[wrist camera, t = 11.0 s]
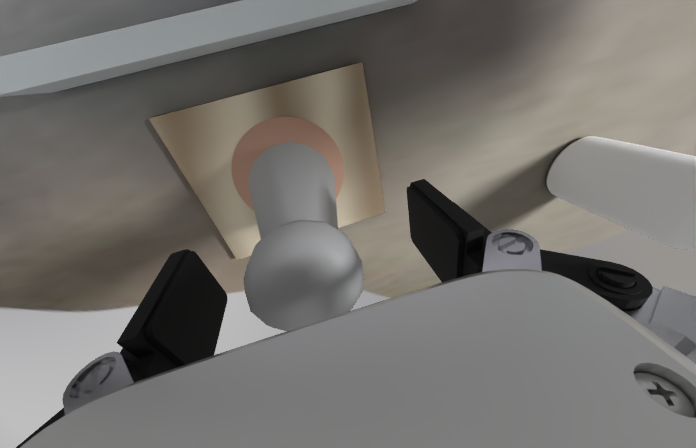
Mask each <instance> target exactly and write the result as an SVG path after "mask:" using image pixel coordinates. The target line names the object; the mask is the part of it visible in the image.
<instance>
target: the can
mask: <svg viewBox="0 0 696 448" xmlns="http://www.w3.org/2000/svg"><path fill="white" fill-rule="evenodd" d="M546 184H547V187H548V190H549V191H550V193H551V194H553V195H555V196H557V197H559V198H561V199H563V200H566V201H568V202H570V203H572V204H574V205H577V206H579V207H581V208H583V209H586V210H588V211H590V212H592V213H595V214H597V215H599V216H601V217H604V218H606V219H608V220H610V221H613V222H615V223H617V224H619V225H622V226H624V227H626V228H628V229H631V230H633V231H635V232H637V233H640V234H642V235H644V236H647V237H649V238H651V239H653V240H656V241H658V242H660V243H663V244H665V245H667V246H670V247H673V248H676V249H682V250H689V251H696V156H692V155H687V154H682V153H677V152H672V151H667V150H662V149H657V148H652V147H647V146H642V145H637V144H632V143H627V142H622V141H617V140H611V139H606V138H601V137H595V136H588V137H584V138H581V139H579V140H577V141H574V142H573V143H571V144H569V145H568V146H567V147H565V148H564V149H563V150H562V151H561V152H560V153H559V154H558V155H557V157H556V158H555V159H554V161H553V162H552V164H551V166H550V168H549V170H548V173H547V176H546Z"/></svg>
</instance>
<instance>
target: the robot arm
mask: <svg viewBox="0 0 696 448" xmlns="http://www.w3.org/2000/svg"><path fill="white" fill-rule="evenodd" d="M407 198H408V210H409V222H410V233H411V239H412V241H413V243H414V244H415V246H416V247H417V248H418V250H419V251H420V253H421V254H422V255H423V257H424V258H425V260H426V261H427V262H428V264H429V265H430V266H431V268H432V269H433V271H434V272H435V273H436V275H437V276H438V277H439V279H440V280H441V282H442V283H438V284H435V285H432V286H429V287H426V288H422V289H419V290H416V291H412V292H409V293H406V294H403V295H400V296H396V297H393V298H390V299H387V300H384V301H381V302H377V303H374V304H371V305H368V306H365V307H362V308H359V309H355V310H352V311H349V312H346V313H343V314H340V315H337V316H333V317H330V318H327V319H324V320H321V321H318V322H315V323H312V324H309V325H306V326H302V327H299V328H296V329H293V330H290V331H287V332H284V333H281V334H278V335H275V336H272V337H269V338H265V339H262V340H259V341H256V342H253V343H250V344H247V345H244V346H241V347H238V348H235V349H232V350H229V351H226V352H223V353H220V354H217V355H214V352H215V348H216V344H217V340H218V336H219V332H220V328H221V324H222V320H223V315H224V312H225V307H226V304H227V295H226V293H225V291H224V290H223V288H222V287H221V286H220V284H219V283H218V282H217V280H216V279H215V278H214V276H213V275H212V274H211V272H210V271H209V270H208V268H207V267H206V266H205V264H204V263H203V262H202V260H201V259H200V258H199V256H198V255H197V254H196V253H195V252H194V251H190V250H188V249H186V250H182V251H179V252H175V253H172V254H171V255H170V256H169V258H168V259H167V261H166V263H165V264H164V266H163V268H162V269H161V271H160V273H159V274H158V276H157V278H156V279H155V281H154V282H153V284H152V286H151V287H150V289H149V291H148V292H147V294H146V296H145V297H144V299H143V300H142V302H141V304H140V305H139V307H138V309H137V311H136V312H135V314H134V315H133V317H132V319H131V320H130V322H129V324H128V325H127V327H126V328H125V330H124V332H123V333H122V335H121V337H120V338H119V340H118V342H117V343H118V344H119V345H120V346H122V347H123V349H122V350H121V352H120V353H119V352H110V353H106V354H104V355H102V356H100V357H98V358H96V359H95V360H93V361H92V362H90V363H89V364H88V365H86V366H85V367H84V368H83V369H82V370H81V371H80V372H79V373H78V374H77V375H76V376H75V377H74V378H73V379H72V381H71V382H70V383H69V385H68V386H67V388H66V390H65V392H64V394H63V405H64V408H63V409H62V410H60V411H59V412H58V413H57V414H56V415H55V416H53V417H52V418H51V419H50V420H49V421H47V422H46V423H45V424H44V425H43V426H41V427H40V428H39V429H38V430H37V431H35V432H34V433H33V434H32V435H30V436H29V437H28V438H27V439H26V440H25V441H24V442H22V443H21V444H20V445H18V446H17V447H16V448H696V297H695V296H692V295H689V294H686V293H683V292H680V291H677V290H674V289H671V288H668V287H665V286H663V288H662V289H661V290H659V289H656V288H654V287H652V285H651V284H650V282H649V281H648V280H647V279H646V278H645V277H644V276H643V275H641V274H640V273H638V272H636V271H635V270H633V269H631V268H628V267H626V266H623V265H620V264H616V263H612V262H607V261H602V260H596V259H590V258H585V257H579V256H574V255H568V254H563V253H557V252H551V251H546V250H540V246H539V243H538V241H537V240H536V239H535V238H534V237H532V236H531V235H529V234H527V233H524V232H522V231H518V230H513V229H503V230H497V231H495V232H492V233H491V232H490V231H489V230H488V229H486V228H485V227H484V226H483V225H481V224H480V223H479V222H478V221H476V220H475V219H474V218H473V217H471V216H470V215H469V214H468V213H466V212H465V211H464V210H463V209H462V208H460V207H459V206H458V205H457V204H455V203H454V202H452V201H451V200H450V199H448V198H447V197H446V196H445V195H443V194H442V193H441V192H440V191H438V190H437V189H436V188H435V187H434V186H432V185H431V184H430V183H429V182H427V181H426V180H425V179H422V180H419V181H415V182H412V183H411V184H410V187H407Z"/></svg>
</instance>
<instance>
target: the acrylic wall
mask: <svg viewBox="0 0 696 448" xmlns="http://www.w3.org/2000/svg"><path fill="white" fill-rule="evenodd" d="M416 1H418V0H241V1H237V2H232V3H228V4H224V5H219V6H215V7H211V8H207V9H202V10H198V11H194V12H189V13H185V14H181V15H176V16H172V17H168V18H164V19H159V20H155V21H151V22H146V23H142V24H138V25H133V26H129V27H125V28H121V29H116V30H112V31H108V32H103V33H99V34H95V35H91V36H86V37H82V38H78V39H73V40H69V41H65V42H60V43H56V44H52V45H48V46H43V47H39V48H35V49H30V50H26V51H22V52H18V53H13V54H9V55H5V56H0V97H5V96H17V95H28V94H40V93H51V92H58V91H62V90H66V89H70V88H74V87H78V86H82V85H86V84H90V83H94V82H98V81H102V80H106V79H110V78H114V77H118V76H122V75H126V74H130V73H134V72H138V71H142V70H146V69H150V68H154V67H158V66H162V65H167V64H171V63H175V62H179V61H183V60H187V59H191V58H195V57H199V56H203V55H207V54H211V53H215V52H219V51H223V50H227V49H231V48H235V47H239V46H243V45H247V44H251V43H255V42H259V41H263V40H267V39H271V38H275V37H279V36H283V35H287V34H292V33H296V32H300V31H304V30H308V29H312V28H316V27H320V26H324V25H328V24H332V23H336V22H340V21H344V20H348V19H352V18H356V17H360V16H364V15H368V14H372V13H376V12H380V11H384V10H388V9H392V8H396V7H400V6H404V5H408V4H412V3H414V2H416Z"/></svg>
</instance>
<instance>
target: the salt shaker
mask: <svg viewBox="0 0 696 448" xmlns="http://www.w3.org/2000/svg"><path fill="white" fill-rule="evenodd" d="M248 185H249V189H250V194H251V198H252V202H253V207H254V211H255V216H256V220H257V225H258V229H259V233H260V238H261V240H260V241H259V242H258V243H257V244H256V245H255V247H254V249H253V252H252V255H251V257H250V260H249V262H248V265H247V268H246V272H245V276H244V286H245V294H246V297H247V300H248V304H249V307H250V310H251V312H252V313H254V314H255V315H256V316H257V317H258V318H260V320H261V321H263V322H264V323H265V324H266V325H268V326H271V327H273V328H277V329H280V330H284V331H290V330H293V329H296V328H299V327H302V326H306V325H309V324H312V323H315V322H318V321H321V320H324V319H327V318H330V317H333V316H337V315H340V314H343V313H346V312H349V311H350V310H351V309H352V308H353V306H354V305H355V303H356V301H357V300H358V298H359V297H360V295H361V293H362V290H363V276H364V273H363V267H362V261H361V259H360V257H359V255H358V253H357V252H356V250H355V248H354V247H353V245H352V243H351V242H350V240H349V239H348V237H347V235H346V234H344V233H343V232H341V231H340V230H338V222H337V207H336V192H335V177H334V173H333V171H332V169H331V167H330V165H329V163H328V161H327V160H326V158H325V157H324V156H322V155H321V154H320V153H318V152H317V151H316V150H314V149H313V148H311V147H310V146H309V145H305V144H299V143H294V142H285V143H282V144H278V145H274V146H271V147H269V148H268V149H267V150H266V151H264V152H263V153H262V154H261V155H260V156H259V157H258V158H257V159H256V160H255V161H254V162H253V165H252V168H251V171H250V174H249V177H248Z"/></svg>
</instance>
